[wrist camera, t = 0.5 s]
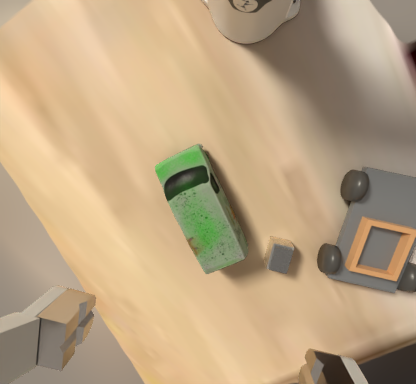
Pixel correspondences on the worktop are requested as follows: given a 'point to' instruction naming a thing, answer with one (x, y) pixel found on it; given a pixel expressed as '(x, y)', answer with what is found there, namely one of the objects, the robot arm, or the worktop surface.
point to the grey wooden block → (278, 254)
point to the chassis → (375, 232)
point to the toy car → (202, 209)
